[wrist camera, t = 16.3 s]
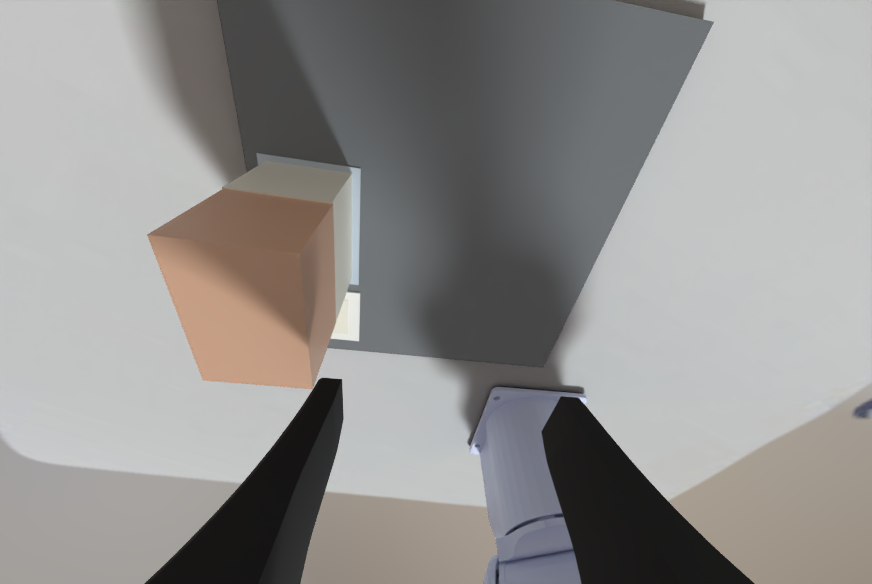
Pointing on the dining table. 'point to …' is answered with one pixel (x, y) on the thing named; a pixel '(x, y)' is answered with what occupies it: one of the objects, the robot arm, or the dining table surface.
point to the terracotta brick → (252, 285)
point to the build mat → (461, 150)
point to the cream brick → (312, 188)
